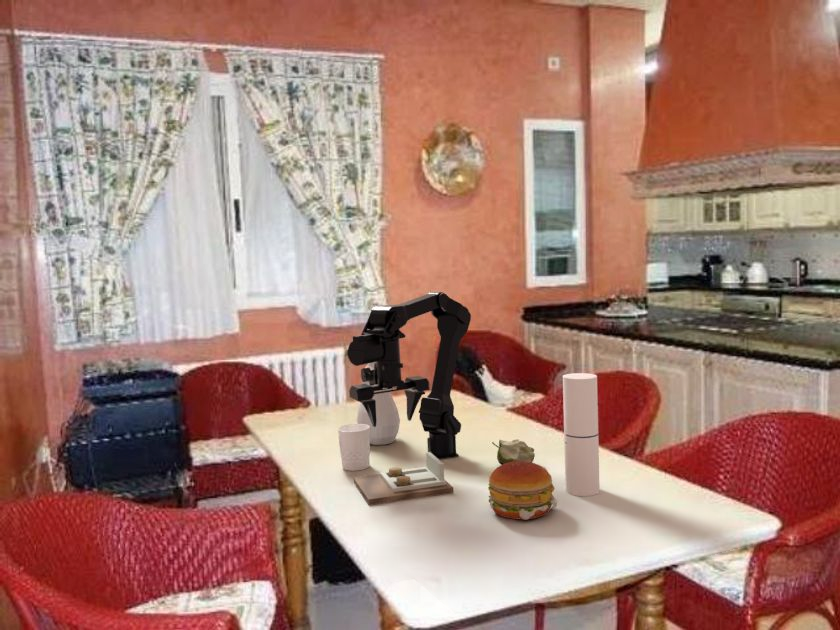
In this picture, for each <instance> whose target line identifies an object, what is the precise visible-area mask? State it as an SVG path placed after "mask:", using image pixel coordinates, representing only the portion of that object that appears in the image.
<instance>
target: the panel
mask: <svg viewBox="0 0 840 630" xmlns="http://www.w3.org/2000/svg"><path fill="white" fill-rule="evenodd" d="M425 457H426V461H425V462H426V466H422V467H413V468H408V469H402V472H401V473H399V474H402V475H405V476H409V477H410V481H409V482H407V483H410V484H413V485H409V486H402V487H397V486H396V485H400V483H399V482H397V477H391V478H389V476H392V474H391V473H389V471H385V472H380V473H379V474H380V476H381V477H382V479H383V480H384V481H385V482H386V484H387V485H388V486H389V487H390V489H391V490H392V491H393V492H398V491H405V490H413V489H420V488H427V487H434V486H441V485H446V481H447V480H446V479H445V464H444V462H442V460H441V459H438V458H436V457H435V456H434V455H433V454H432V453H431V452H428V451H427V452H426V453H425ZM444 479H445V480H446V481H445V480H444Z"/></svg>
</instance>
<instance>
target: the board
mask: <svg viewBox="0 0 840 630" xmlns="http://www.w3.org/2000/svg"><path fill="white" fill-rule="evenodd" d="M402 470H403V469H402V467H399V466H398V467H397V466H394V467H390V468H388V472H389V473H391V474H392V476H389V478H391V477H397V482H399V483H400V485H396V486H397V487H402V486H409V485H413V484H410V483H407V482H409V481H410V477H409V476H405V475H402V474H399V473H401V472H402ZM352 480H353V484H354V485H355V487H356V488H357V489H358V491H359V493H360V494H361V496H362V498H363V499H364V500H365V502H366V503H367V505H368V506H372V505H378V504H384V503H392V502H398V501H405V500H411V499H412V500H413V499H418V498H426V497H427V498H428V497H434V496H439V495H445V494H447V495H448V494H453V493H454V487H453V486H452V485H451V484H450V483H449V482H448V481H447V480H446V479H445V478H444V480H445V481H446V485H441V486H434V487H427V488H420V489H413V490H405V491H398V492H393V491H392V490H391V489H390V487H389V486H388V485H387V484H386V482H385V481H384V480H383V479H382V477H381V476H380V473H377V474H370V475H369V474H368V475H363V476H356V477H353V479H352Z"/></svg>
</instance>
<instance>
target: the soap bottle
mask: <svg viewBox="0 0 840 630" xmlns="http://www.w3.org/2000/svg"><path fill="white" fill-rule="evenodd" d="M374 363H376V362H373V363H368V364H366V366H365V367H364V368H370V370H374ZM361 383H362V384H367V385H369V381H368V382H362V379H361ZM369 386H370V385H369ZM373 386H378V385H375V384H374V385H372V387H373ZM383 389H387V388H383ZM372 399H374V400H375V401H376V427H373V425H372V423H371V421H370V418H369V416H368V413H367V411H366V409H365V407H364V406H363V404H362V403H361V402H359V405H358V406H357V416H356V424H365V425H368V426H370V445H374V446H383V445H389V444H392V443H394V441H395V439H396V437H397V436H398V434H399V431H400V430H399V429H400V423H401V419H400V415H399V410H398V407H397V405H396V402H395V401H394V400H395V399H394V398H393V395H392V392H386V393H379V394H374V396H373V398H372Z"/></svg>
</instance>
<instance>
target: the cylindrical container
mask: <svg viewBox="0 0 840 630" xmlns="http://www.w3.org/2000/svg"><path fill="white" fill-rule="evenodd" d="M562 397H563V399H562V401H563V404H562V405H563V431H564V432H563V435H564V436H563V438H564V439H563V441H564V471H565V472H564V474H565V492H566V493H567V494H570V495H572V496H575V497H576V496H577V497H592V496H595V495H597V494H599V493H600V488H601V487H600V455H599V453H600V450H599V449H600V448H599V447H600V445H599V442H600V441H599V411H598V410H599V405H598V404H599V403H598V401H599V400H598V375H597V374H594V373H588V372H587V373H585V372H577V373H576V372H574V373H565V374H563V375H562Z"/></svg>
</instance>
